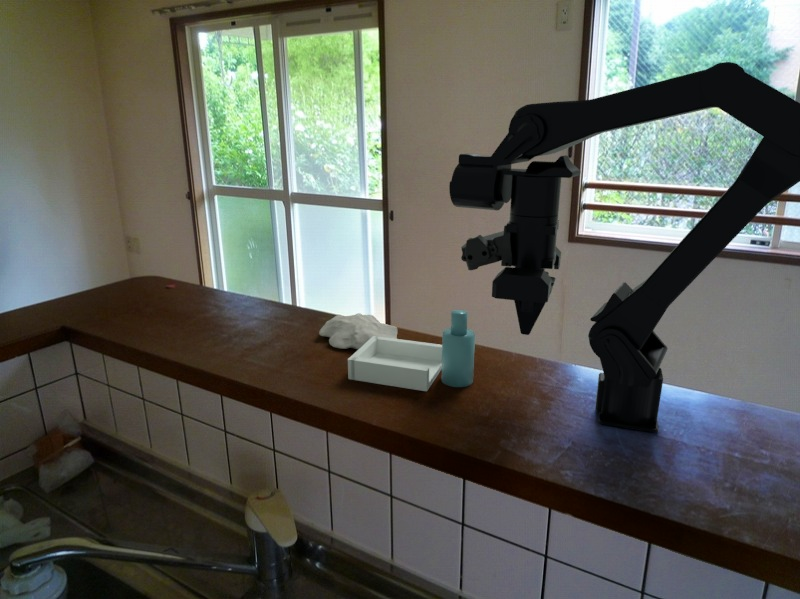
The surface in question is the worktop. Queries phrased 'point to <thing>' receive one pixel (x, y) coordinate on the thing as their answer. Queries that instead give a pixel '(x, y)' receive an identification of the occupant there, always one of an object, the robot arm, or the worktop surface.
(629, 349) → the robot arm
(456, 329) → the bottle
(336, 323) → the decorative stone
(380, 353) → the u rest
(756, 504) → the worktop surface
